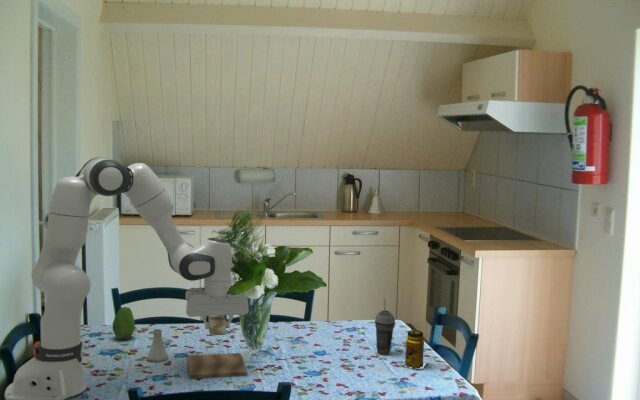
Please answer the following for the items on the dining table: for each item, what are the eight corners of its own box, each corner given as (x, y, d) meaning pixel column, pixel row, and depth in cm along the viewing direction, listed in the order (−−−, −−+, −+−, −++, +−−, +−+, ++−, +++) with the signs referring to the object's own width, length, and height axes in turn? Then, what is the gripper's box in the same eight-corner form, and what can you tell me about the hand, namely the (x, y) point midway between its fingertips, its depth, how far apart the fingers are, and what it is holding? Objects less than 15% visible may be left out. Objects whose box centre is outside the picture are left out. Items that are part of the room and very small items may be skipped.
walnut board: (190, 378, 217) (190, 374, 217) (187, 359, 235) (187, 355, 234) (247, 375, 221) (247, 371, 221) (240, 356, 239) (240, 353, 239)
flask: (162, 363, 230) (163, 334, 229) (142, 361, 231) (142, 332, 230) (171, 356, 237) (171, 328, 236) (152, 354, 238) (152, 326, 237)
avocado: (139, 338, 255) (139, 306, 253) (123, 343, 248) (123, 311, 247) (123, 334, 259) (123, 302, 257) (107, 339, 252) (107, 307, 251)
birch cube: (210, 335, 224) (210, 320, 223) (209, 330, 229) (209, 316, 228) (225, 334, 225) (225, 320, 224) (224, 330, 230) (224, 315, 229)
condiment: (401, 367, 234) (402, 332, 232) (408, 359, 241) (410, 326, 240) (421, 371, 231) (423, 336, 229) (428, 363, 238) (430, 329, 237)
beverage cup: (378, 357, 242) (381, 302, 240) (369, 350, 249) (372, 297, 247) (397, 355, 245) (399, 300, 243) (387, 349, 252) (390, 295, 249)
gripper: (185, 290, 219) (185, 332, 221) (249, 288, 224) (249, 329, 226) (185, 285, 225) (184, 326, 227) (247, 283, 230) (246, 323, 232)
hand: (217, 328), depth 227 cm, fingers closed on birch cube, 5 cm apart
